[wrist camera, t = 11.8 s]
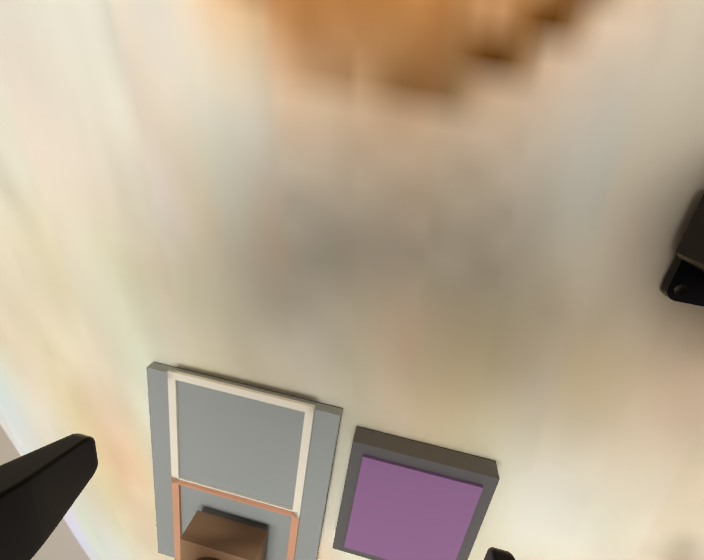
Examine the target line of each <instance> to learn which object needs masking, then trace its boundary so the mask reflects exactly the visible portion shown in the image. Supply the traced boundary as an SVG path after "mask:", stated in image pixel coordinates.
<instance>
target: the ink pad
mask: <svg viewBox="0 0 704 560" xmlns="http://www.w3.org/2000/svg"><path fill="white" fill-rule="evenodd" d="M498 481H499V474H498V470H497V465H496V461H492V460H489V459H485V458H481V457H477V456H473V455H469V454H465V453H461V452H457V451H453V450H449V449H445V448H441V447H437V446H433V445H429V444H425V443H421V442H417V441H413V440H409V439H405V438H401V437H397V436H393V435H389V434H385V433H381V432H377V431H373V430H369V429H365V428H361V427H356V431H355V435H354V440H353V444H352V450H351V455H350V460H349V465H348V470H347V476H346V481H345V486H344V491H343V496H342V502H341V507H340V512H339V517H338V522H337V528H336V533H335V538H334V543H333V548H334V549H337V550H341V551H344V552H348V553H351V554H355V555H358V556H361V557H365V558H368V559H372V560H468V557H469V555H470V552H471V549H472V547H473V544H474V542H475V539H476V537H477V534H478V532H479V529H480V527H481V524H482V522H483V519H484V517H485V514H486V512H487V509H488V507H489V504H490V502H491V499H492V497H493V494H494V492H495V489H496V486H497V484H498Z"/></svg>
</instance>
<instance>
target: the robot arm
mask: <svg viewBox="0 0 704 560" xmlns="http://www.w3.org/2000/svg"><path fill="white" fill-rule="evenodd" d="M678 285H682V288H681V289H680V290H679V291H677V292H674V288H675V287H676V286H678ZM662 293H663V294H664V295H665V296H667V297H668V298H670V299H672V300H674V301H678V302H683V303H689V304H694V305H699V306H704V195H703V197H702V199H701V201H700V203H699V205H698V207H697V209H696V211H695V213H694V216H693V218H692V220H691V222H690V224H689V226H688V228H687V230H686V232H685V234H684V236H683V238H682V240H681V242H680V244H679V246H678V249H677V256H676V258H675V260H674V262H673V264H672V266H671V268H670V270H669V272H668V274H667V276H666V278H665V280H664V282H663V284H662ZM97 465H98V459H97V452H96V446H95V441H94V439H93V438H92V437H90V436H86V435H83V434H72V435H69V436H67V437H65V438H63V439H60V440H58V441H56V442H53V443H51V444H49V445H46V446H44V447H42V448H40V449H37V450H35V451H33V452H30V453H28V454H26V455H23V456H21V457H19V458H17V459H14V460H12V461H10V462H7V463H5V464H3V465H1V466H0V560H30V559H32V557H33V556H34V555H35V554H36V553H37V551H38V550H39V549H40V548H41V546H42V545H43V544H44V542H45V541H46V540H47V539H48V537H49V536H50V535H51V533H52V532H53V531H54V529H55V528H56V527H57V525H58V524H59V522H60V521H61V520H62V518H63V517H64V515H65V514H66V513H67V511H68V510H69V508H70V507H71V506H72V504H73V503H74V501H75V500H76V499H77V497H78V496H79V494H80V493H81V492H82V490H83V489H84V487H85V486H86V485H87V483H88V482H89V480H90V479H91V478H92V476H93V475H94V473H95V471H96V469H97ZM484 560H515V558H514V557H513V555H512V554H511V553H510V552H508V551H505V550H501V549H497V548H494V547H491V548H489V549H488V551H487V553H486V556H485V558H484Z"/></svg>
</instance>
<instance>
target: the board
mask: <svg viewBox="0 0 704 560" xmlns="http://www.w3.org/2000/svg"><path fill="white" fill-rule="evenodd" d="M147 380H148V396H149V412H150V427H151V443H152V458H153V474H154V490H155V505H156V521H157V536H158V552H159V553H161V554H164V555H168V556H171V557H174V558H175V560H180V538H181V536H182V535H183V533H184V531H185V530H186V528H187V527H188V525H189V523H190V522H191V520H192V518H193V517H194V515H195V514H196V512H197V510H198V511H202V509H203V508H204V507H208V508H211V509H214V510H218V511H221V512H225V513H228V514H232V515H235V516H238V517H242V518H245V519H249V520H252V521H255V522H259V523H262V524H266V525H267V540H266V551H265V560H317V554H318V548H319V543H320V537H321V531H322V525H323V519H324V513H325V508H326V502H327V496H328V490H329V484H330V478H331V473H332V467H333V461H334V455H335V449H336V443H337V438H338V432H339V426H340V420H341V414H342V408H338V407H333V406H329V405H325V404H321V403H317V402H313V401H309V400H305V399H301V398H297V397H293V396H289V395H285V394H281V393H277V392H273V391H269V390H265V389H261V388H256V387H252V386H248V385H244V384H240V383H236V382H232V381H228V380H224V379H220V378H216V377H212V376H208V375H204V374H200V373H196V372H192V371H188V370H184V369H180V368H175V367H171V366H167V365H163V364H159V363H155V362H153V363H151V364H150V365H149V366H148V367H147Z"/></svg>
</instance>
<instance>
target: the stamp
mask: <svg viewBox="0 0 704 560" xmlns="http://www.w3.org/2000/svg"><path fill="white" fill-rule="evenodd" d="M266 540H267V525H266V524H262V523H259V522H255V521H252V520H249V519H245V518H242V517H238V516H235V515H232V514H228V513H225V512H221V511H218V510H214V509H211V508H208V507H204V508H203V509H202V511H198V510H197V512H196V514H195V515H194V517H193V518H192V520H191V522H190V523H189V525H188V527H187V528H186V530H185V531H184V533H183V535H182V536H181V538H180V560H265V551H266Z"/></svg>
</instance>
